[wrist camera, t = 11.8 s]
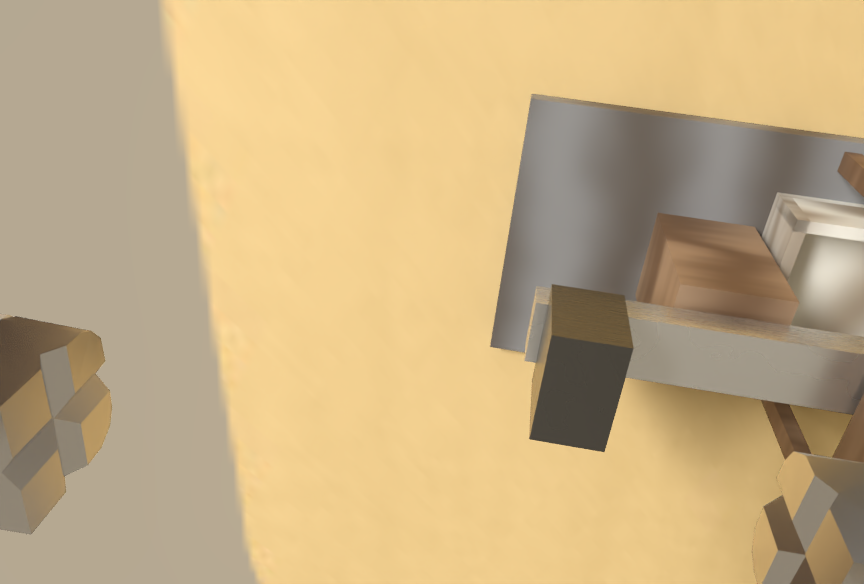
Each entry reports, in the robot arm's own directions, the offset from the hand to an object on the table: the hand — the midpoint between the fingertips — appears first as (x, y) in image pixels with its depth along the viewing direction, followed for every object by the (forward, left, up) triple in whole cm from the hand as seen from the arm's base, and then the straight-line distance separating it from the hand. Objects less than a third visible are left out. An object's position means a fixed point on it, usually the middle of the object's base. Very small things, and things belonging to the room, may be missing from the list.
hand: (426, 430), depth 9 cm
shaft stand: (+11, +13, -31) cm, 36 cm away
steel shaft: (+11, +13, -22) cm, 27 cm away
